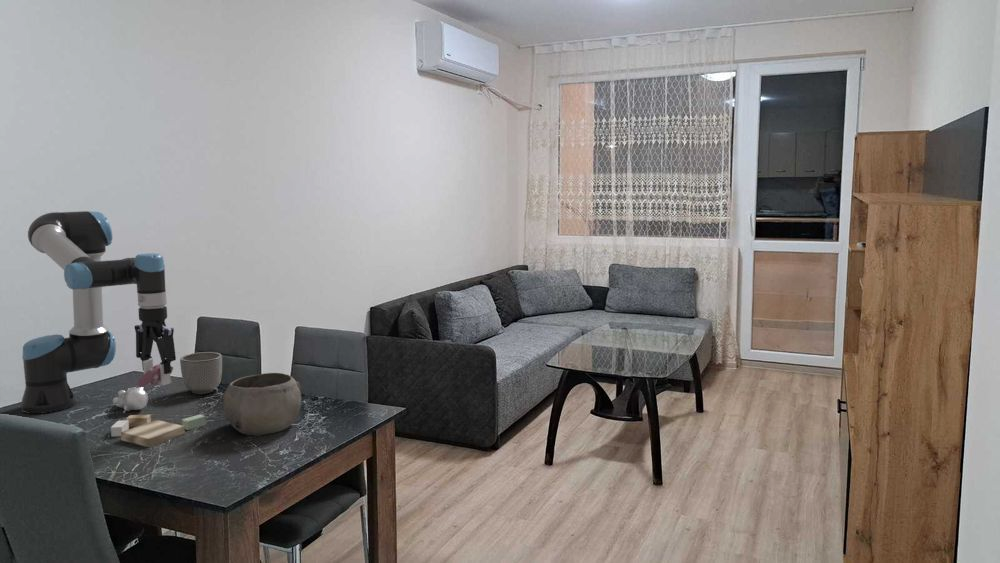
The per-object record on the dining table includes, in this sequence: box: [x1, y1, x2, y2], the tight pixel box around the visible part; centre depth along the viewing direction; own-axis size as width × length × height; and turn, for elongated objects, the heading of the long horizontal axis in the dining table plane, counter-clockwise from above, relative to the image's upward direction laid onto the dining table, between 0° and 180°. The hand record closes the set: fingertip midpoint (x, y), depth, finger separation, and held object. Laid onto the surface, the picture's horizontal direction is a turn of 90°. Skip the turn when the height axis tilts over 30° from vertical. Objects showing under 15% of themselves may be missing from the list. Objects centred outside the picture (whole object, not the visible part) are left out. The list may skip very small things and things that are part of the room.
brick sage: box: [181, 414, 207, 431], centre depth 218 cm, size 6×3×3 cm, turn 145°
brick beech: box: [125, 414, 152, 428], centre depth 219 cm, size 6×3×3 cm, turn 97°
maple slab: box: [120, 419, 186, 448], centre depth 209 cm, size 12×12×2 cm
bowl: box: [221, 372, 302, 436], centre depth 218 cm, size 23×23×15 cm
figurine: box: [112, 386, 149, 414], centre depth 235 cm, size 11×7×15 cm
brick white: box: [110, 419, 130, 438], centre depth 212 cm, size 6×3×3 cm, turn 10°
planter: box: [179, 351, 223, 395], centre depth 253 cm, size 14×14×13 cm
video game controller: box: [137, 363, 174, 388], centre depth 210 cm, size 10×5×7 cm, turn 167°
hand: (157, 382), depth 211 cm, fingers closed on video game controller, 6 cm apart
